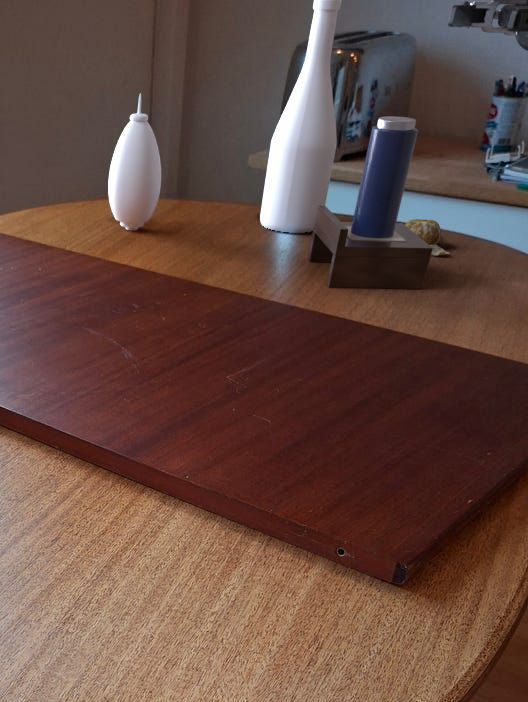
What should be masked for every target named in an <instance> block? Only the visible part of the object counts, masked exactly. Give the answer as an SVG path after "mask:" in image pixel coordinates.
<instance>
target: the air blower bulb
mask: <svg viewBox="0 0 528 702" xmlns="http://www.w3.org/2000/svg"><path fill="white" fill-rule="evenodd" d="M137 105H138V106H137V112H136V113H132V114H130V116H129V122H128V123H127V124H126V126H125V127H124V128H123V131H122V132H121V134H120V136H119V139H118V140H117V143H116V145H115V149H114V152H113V155H112V158H111V163H110V167H109V173H108V184H107V185H108V187H107V188H108V191H107V192H108V201H109V206H110V210H111V212H112V215H113V217H114V219H115V221H118V222H120V223H119V225H120V226H121V227H122V228H125V230H127V231H138V229H139V228H140V229H141V228H142V227H144V224H145V223H147V222H149V220H151V218H152V216H153V214H154V212H155V211H156V208H157V205H158V203H159V198H160V194H161V186H162V163H161V157H160V150H159V146H158V142H157V138H156V135H155V133H154V130H153V128H152V126H151V125H150V123H149V122H148V120H149V115H148V114H146V113H142V93H141V92H140V93H139V96H138V104H137Z"/></svg>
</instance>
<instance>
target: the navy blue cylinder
mask: <svg viewBox="0 0 528 702" xmlns="http://www.w3.org/2000/svg"><path fill="white" fill-rule="evenodd" d="M416 123H417V119H415V118H412V117H407V116H391V115H389V116H386V115H385V116H380V117H378V120H377V124H376V125H374V126H372V127H371V131H370V133H371V134H370V137H369V140H368V141H369V142H368V145H367V146H368V147H367V151H366V157H365V161H364V165H363V170H362V175H361V179H360V184H359V189H358V194H357V198H356V203H355V208H354V212H353V217H352V221H351V222H352V227H351V233H353V234H355V235H358V236H362V237H368V238H388V237H391V236H393V234H394V229H395V225H396V223H397V221H398V216H399V213H400V208H401V203H402V199H403V196H404V192H405V187H406V184H407V183H406V182H407V179H408V174H409V172H410V171H409V170H410V167H411V163H412V158H413V154H414V149H415V145H416V142H417V137H418V133H419V129H418V128H416Z"/></svg>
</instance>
